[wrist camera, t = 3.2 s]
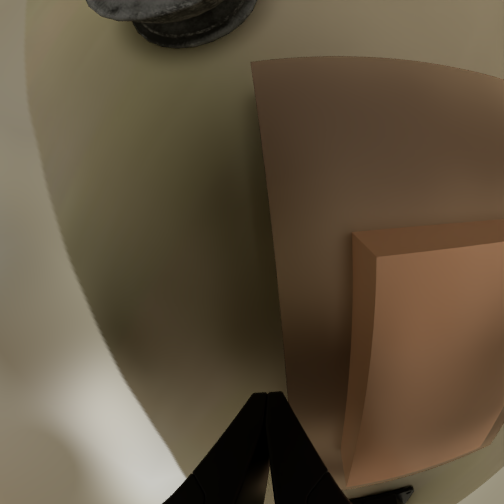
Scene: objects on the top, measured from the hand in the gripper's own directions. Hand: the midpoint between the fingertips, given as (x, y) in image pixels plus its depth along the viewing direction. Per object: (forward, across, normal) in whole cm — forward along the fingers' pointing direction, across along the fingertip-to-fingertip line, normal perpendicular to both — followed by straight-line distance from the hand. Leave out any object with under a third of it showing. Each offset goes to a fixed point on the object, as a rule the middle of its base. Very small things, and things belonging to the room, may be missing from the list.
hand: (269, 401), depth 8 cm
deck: (+4, -6, 0) cm, 8 cm away
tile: (+1, -6, 0) cm, 6 cm away
